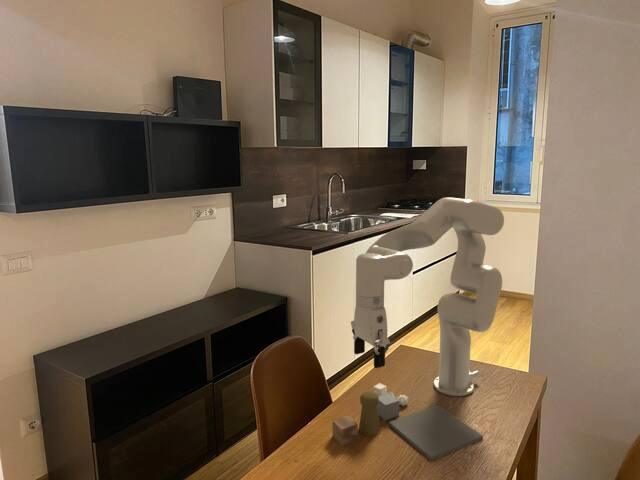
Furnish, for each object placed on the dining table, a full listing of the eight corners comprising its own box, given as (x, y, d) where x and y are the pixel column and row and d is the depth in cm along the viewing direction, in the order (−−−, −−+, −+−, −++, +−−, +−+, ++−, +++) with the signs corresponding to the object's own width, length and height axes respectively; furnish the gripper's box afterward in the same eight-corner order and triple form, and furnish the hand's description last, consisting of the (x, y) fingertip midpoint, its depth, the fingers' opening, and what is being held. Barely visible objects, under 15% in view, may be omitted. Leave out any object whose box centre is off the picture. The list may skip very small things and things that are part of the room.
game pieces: (373, 395, 155) (373, 386, 155) (379, 391, 157) (379, 382, 157) (404, 409, 147) (404, 399, 146) (410, 404, 149) (410, 395, 148)
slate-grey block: (389, 407, 147) (389, 392, 146) (399, 415, 143) (399, 400, 142) (375, 412, 145) (375, 397, 144) (385, 420, 141) (385, 405, 140)
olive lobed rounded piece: (379, 437, 133) (379, 400, 131) (357, 434, 134) (357, 398, 132) (381, 424, 139) (381, 389, 137) (360, 422, 140) (359, 387, 138)
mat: (437, 407, 147) (437, 404, 146) (482, 439, 131) (482, 435, 131) (388, 425, 138) (388, 422, 138) (431, 460, 123) (431, 457, 123)
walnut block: (348, 431, 136) (348, 415, 135) (357, 440, 132) (357, 424, 131) (332, 436, 134) (332, 420, 133) (341, 446, 130) (341, 429, 129)
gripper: (401, 306, 123) (399, 369, 127) (363, 289, 138) (363, 345, 142) (376, 311, 120) (375, 375, 123) (341, 293, 135) (341, 351, 138)
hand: (369, 359), depth 132 cm, fingers open, 9 cm apart
